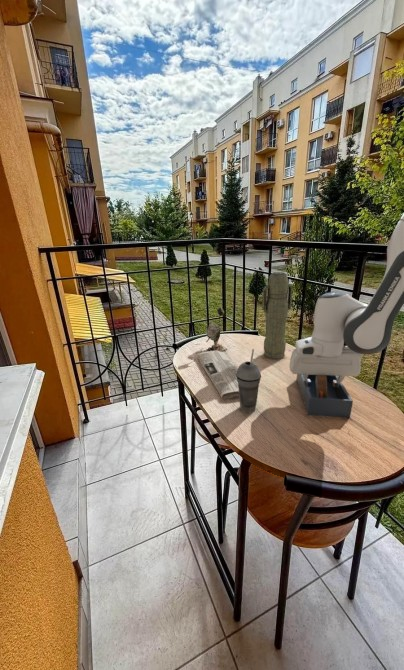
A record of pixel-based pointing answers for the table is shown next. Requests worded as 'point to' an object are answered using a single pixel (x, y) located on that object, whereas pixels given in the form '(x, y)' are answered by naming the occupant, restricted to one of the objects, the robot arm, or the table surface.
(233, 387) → the newspaper
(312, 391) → the bin
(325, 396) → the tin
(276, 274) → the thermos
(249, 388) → the beverage cup
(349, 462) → the table surface
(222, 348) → the plant with pod
